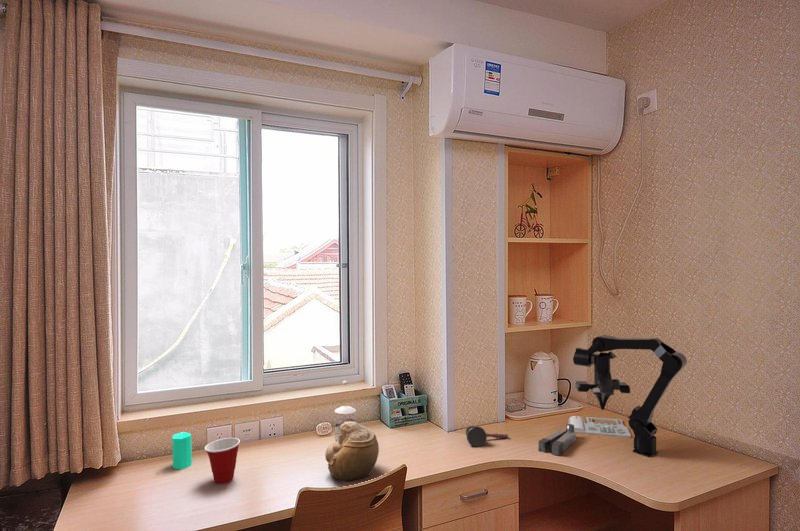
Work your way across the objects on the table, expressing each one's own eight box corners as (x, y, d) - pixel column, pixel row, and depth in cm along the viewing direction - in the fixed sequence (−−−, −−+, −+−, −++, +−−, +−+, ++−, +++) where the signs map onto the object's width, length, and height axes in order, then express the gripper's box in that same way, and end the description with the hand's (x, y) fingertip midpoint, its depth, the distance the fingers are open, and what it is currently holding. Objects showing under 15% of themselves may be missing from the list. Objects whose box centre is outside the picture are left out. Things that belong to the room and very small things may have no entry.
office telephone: (568, 427, 198) (567, 412, 217) (568, 434, 198) (567, 418, 217) (631, 432, 191) (624, 416, 210) (631, 439, 191) (624, 422, 210)
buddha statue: (333, 461, 171) (333, 411, 172) (381, 464, 170) (382, 414, 170) (317, 486, 152) (318, 430, 152) (372, 490, 150) (373, 433, 150)
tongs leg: (569, 439, 190) (568, 429, 189) (575, 440, 188) (575, 431, 188) (551, 453, 175) (551, 443, 175) (559, 455, 174) (558, 445, 174)
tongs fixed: (565, 435, 194) (565, 422, 194) (575, 437, 191) (575, 425, 191) (538, 450, 179) (538, 437, 179) (549, 453, 176) (549, 440, 176)
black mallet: (466, 446, 182) (461, 441, 191) (513, 451, 184) (506, 446, 192) (468, 425, 184) (463, 421, 192) (514, 430, 185) (507, 426, 193)
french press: (328, 450, 181) (327, 383, 180) (339, 439, 192) (339, 375, 192) (353, 453, 178) (352, 384, 178) (363, 441, 190) (362, 377, 189)
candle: (173, 463, 170) (172, 429, 170) (192, 460, 173) (191, 426, 172) (172, 470, 165) (171, 434, 165) (191, 467, 167) (190, 432, 167)
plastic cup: (208, 474, 161) (207, 438, 161) (242, 471, 164) (241, 435, 164) (201, 489, 151) (201, 450, 151) (238, 485, 153) (238, 447, 153)
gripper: (581, 372, 180) (581, 415, 180) (634, 374, 177) (635, 417, 177) (575, 366, 191) (575, 406, 191) (625, 367, 188) (625, 408, 188)
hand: (602, 409), depth 187 cm, fingers closed
